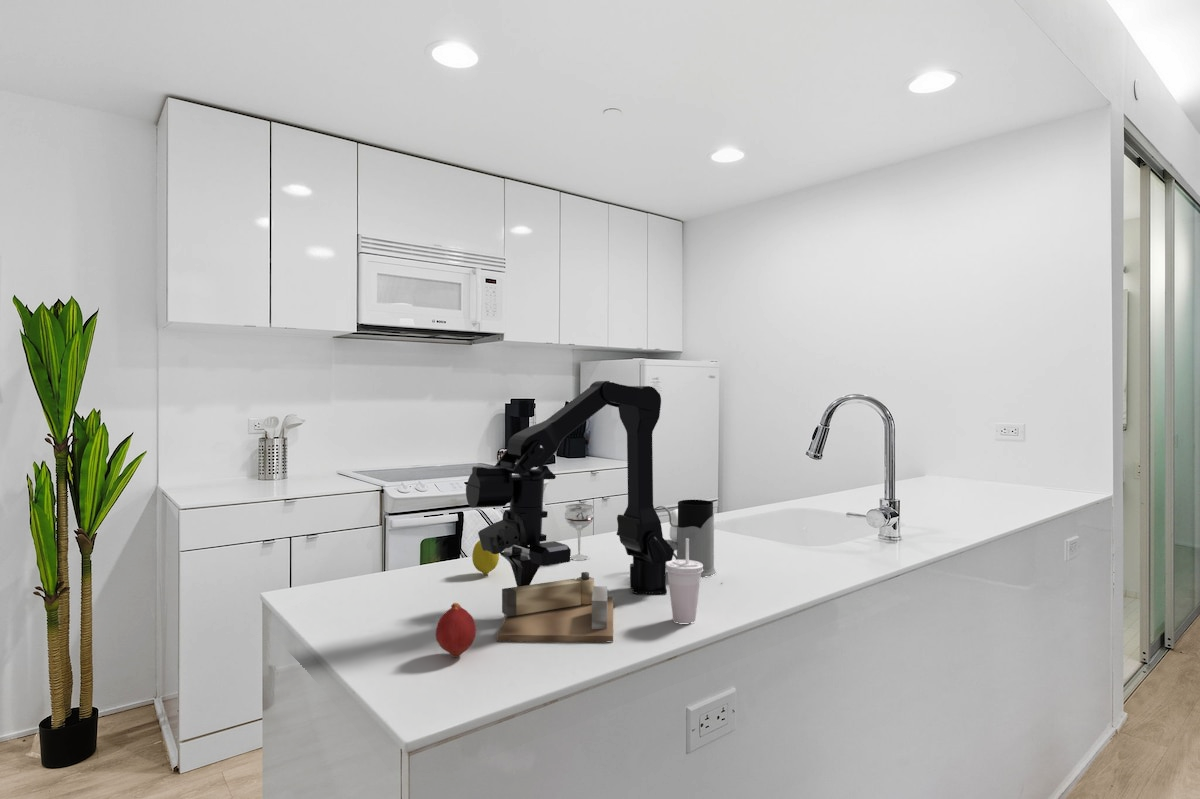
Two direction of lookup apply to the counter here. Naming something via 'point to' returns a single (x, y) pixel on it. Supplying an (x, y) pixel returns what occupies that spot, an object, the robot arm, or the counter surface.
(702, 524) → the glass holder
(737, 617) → the counter surface
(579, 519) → the wineglass
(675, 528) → the white rounded piece
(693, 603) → the smoothie
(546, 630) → the seat
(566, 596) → the leg
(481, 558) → the lemon
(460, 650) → the onion
